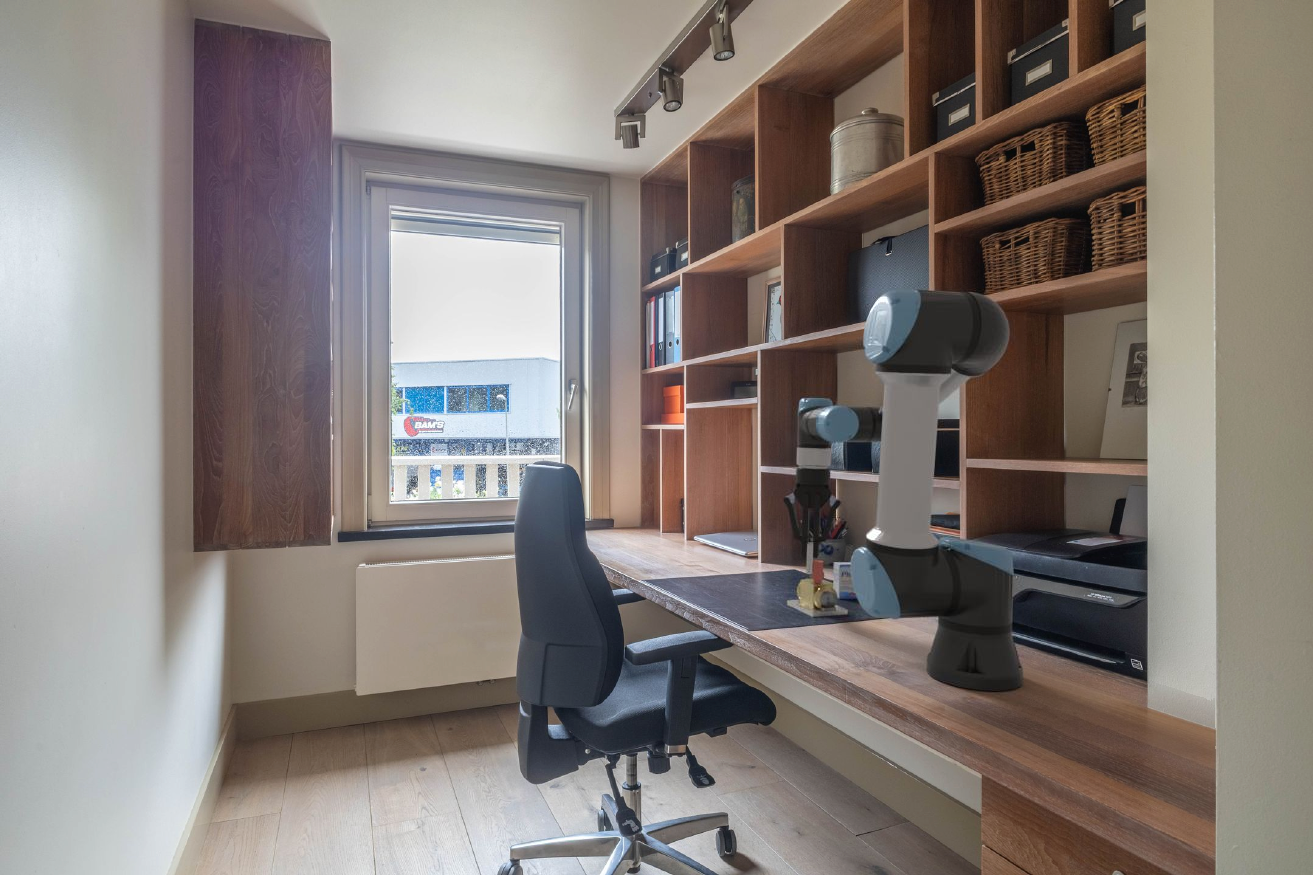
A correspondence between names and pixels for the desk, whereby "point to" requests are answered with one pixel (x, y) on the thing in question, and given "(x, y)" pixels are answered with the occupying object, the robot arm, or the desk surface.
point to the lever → (817, 572)
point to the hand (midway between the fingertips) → (809, 571)
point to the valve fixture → (817, 599)
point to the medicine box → (843, 580)
